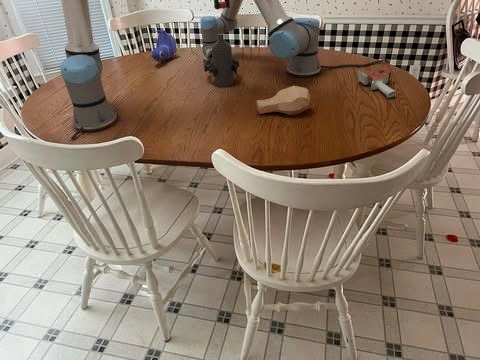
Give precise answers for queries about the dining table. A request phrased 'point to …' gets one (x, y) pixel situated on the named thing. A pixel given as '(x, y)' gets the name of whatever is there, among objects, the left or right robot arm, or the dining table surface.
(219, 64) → the bottle
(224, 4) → the cap
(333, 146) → the dining table surface
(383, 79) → the tape dispenser
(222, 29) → the right robot arm
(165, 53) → the toy
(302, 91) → the squash
